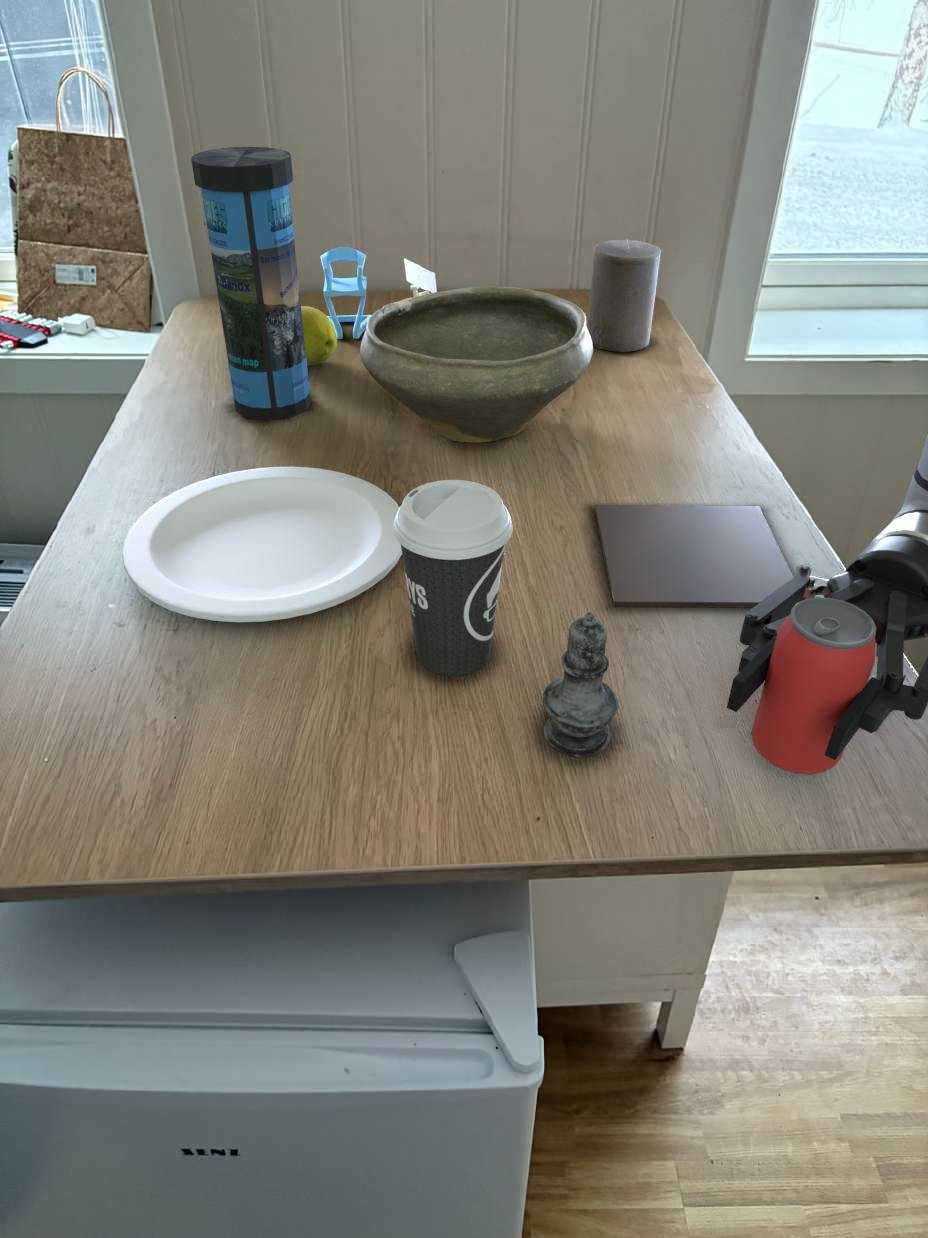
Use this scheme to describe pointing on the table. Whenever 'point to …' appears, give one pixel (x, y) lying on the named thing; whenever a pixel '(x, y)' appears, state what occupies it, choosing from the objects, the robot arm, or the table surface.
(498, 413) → the bowl
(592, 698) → the salt shaker
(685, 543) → the back mat
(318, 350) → the lemon
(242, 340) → the advertising column
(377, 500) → the plate
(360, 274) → the chair
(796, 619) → the beer can
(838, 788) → the table surface
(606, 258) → the pillar candle
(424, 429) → the table surface
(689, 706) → the table surface
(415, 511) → the coffee cup
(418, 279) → the white panel on stand
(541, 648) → the table surface
